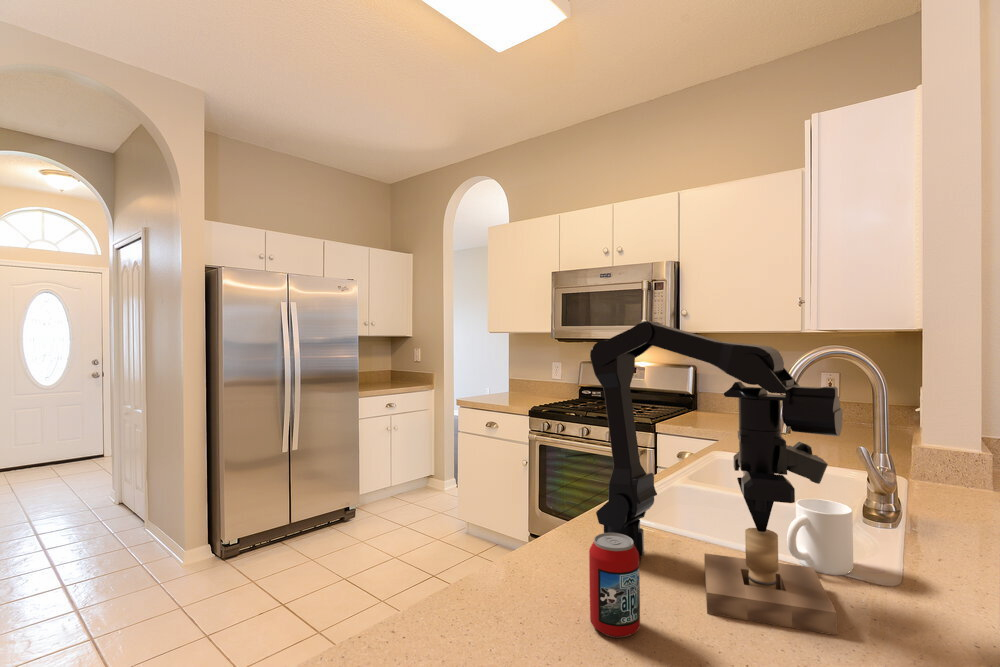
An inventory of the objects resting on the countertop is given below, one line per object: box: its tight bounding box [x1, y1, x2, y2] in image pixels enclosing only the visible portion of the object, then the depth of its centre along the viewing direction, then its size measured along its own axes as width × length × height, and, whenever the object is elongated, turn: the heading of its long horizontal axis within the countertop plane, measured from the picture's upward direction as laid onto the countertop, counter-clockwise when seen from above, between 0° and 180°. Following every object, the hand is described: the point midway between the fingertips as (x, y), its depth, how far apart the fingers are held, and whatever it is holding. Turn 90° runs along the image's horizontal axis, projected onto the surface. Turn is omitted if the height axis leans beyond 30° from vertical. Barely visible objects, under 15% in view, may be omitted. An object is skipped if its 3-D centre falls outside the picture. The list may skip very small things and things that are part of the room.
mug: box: [786, 498, 854, 576], centre depth 87 cm, size 12×8×10 cm
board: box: [703, 553, 838, 636], centre depth 76 cm, size 16×14×3 cm
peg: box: [744, 527, 779, 589], centre depth 76 cm, size 4×4×10 cm
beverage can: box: [588, 532, 641, 639], centre depth 69 cm, size 7×7×12 cm
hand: (761, 530), depth 76 cm, fingers closed
